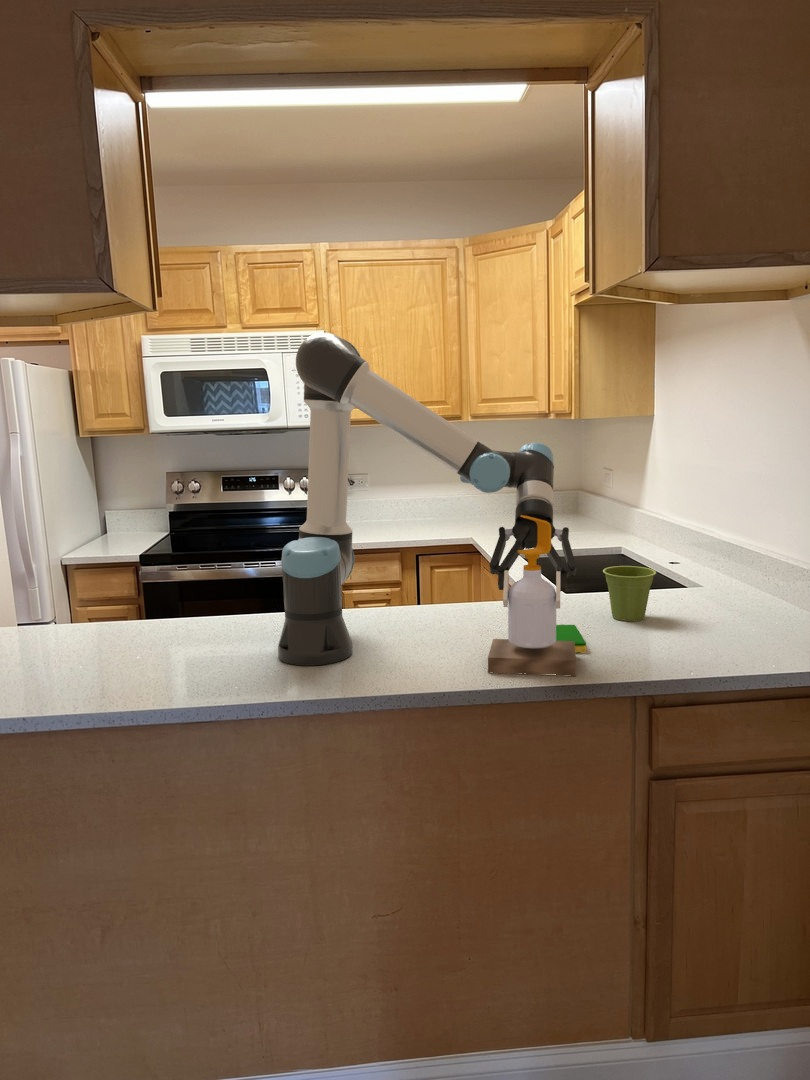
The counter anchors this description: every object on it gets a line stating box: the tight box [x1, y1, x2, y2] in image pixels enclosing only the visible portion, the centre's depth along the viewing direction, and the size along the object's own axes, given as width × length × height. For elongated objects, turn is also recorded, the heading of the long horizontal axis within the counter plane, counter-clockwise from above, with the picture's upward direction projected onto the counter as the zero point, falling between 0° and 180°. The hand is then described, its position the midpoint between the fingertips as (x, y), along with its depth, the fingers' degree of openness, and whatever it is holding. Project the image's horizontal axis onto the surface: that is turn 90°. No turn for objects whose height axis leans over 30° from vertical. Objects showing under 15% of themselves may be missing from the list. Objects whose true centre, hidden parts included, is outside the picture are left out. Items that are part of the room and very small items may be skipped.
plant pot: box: [602, 565, 657, 622], centre depth 173 cm, size 12×12×11 cm
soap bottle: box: [507, 515, 557, 649], centre depth 141 cm, size 9×9×25 cm
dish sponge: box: [556, 624, 587, 653], centre depth 157 cm, size 7×14×2 cm, turn 177°
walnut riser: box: [487, 638, 577, 677], centre depth 143 cm, size 16×12×3 cm
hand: (531, 604), depth 139 cm, fingers closed on soap bottle, 9 cm apart
